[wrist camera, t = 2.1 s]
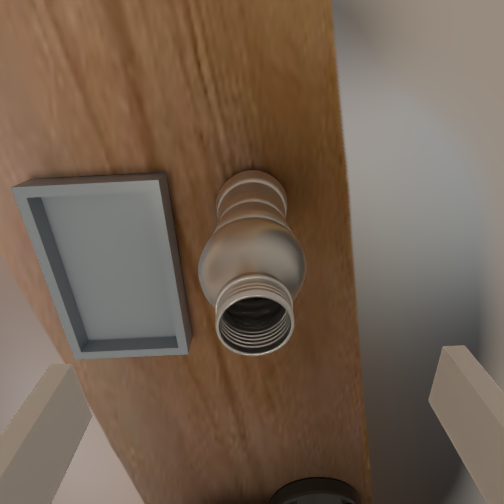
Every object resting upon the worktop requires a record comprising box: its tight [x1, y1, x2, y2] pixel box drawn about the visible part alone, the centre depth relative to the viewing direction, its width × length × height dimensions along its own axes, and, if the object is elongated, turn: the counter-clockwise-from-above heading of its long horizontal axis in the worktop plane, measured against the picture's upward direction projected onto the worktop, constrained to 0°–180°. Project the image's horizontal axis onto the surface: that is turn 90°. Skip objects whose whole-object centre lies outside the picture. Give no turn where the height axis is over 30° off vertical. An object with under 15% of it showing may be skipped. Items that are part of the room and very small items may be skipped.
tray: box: [11, 172, 192, 360], centre depth 35 cm, size 20×13×3 cm, turn 3°
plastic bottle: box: [198, 170, 306, 356], centre depth 24 cm, size 6×7×20 cm
